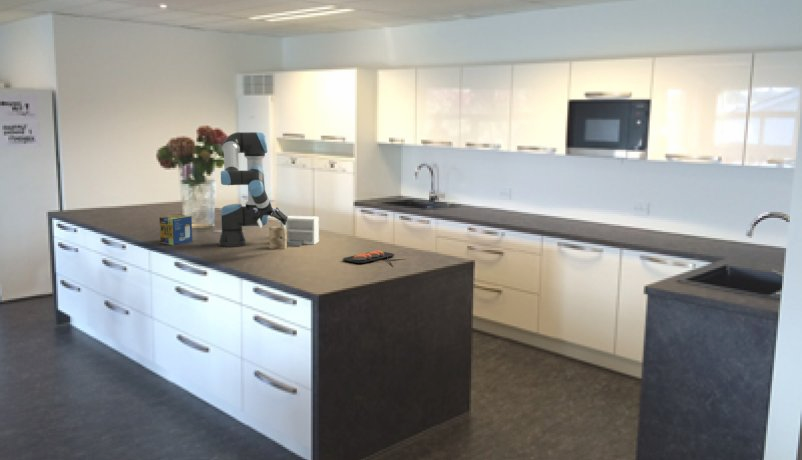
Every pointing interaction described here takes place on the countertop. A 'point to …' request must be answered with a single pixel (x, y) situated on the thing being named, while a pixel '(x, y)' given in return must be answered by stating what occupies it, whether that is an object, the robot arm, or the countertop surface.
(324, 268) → the countertop surface
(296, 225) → the cabinet
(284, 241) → the door
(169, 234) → the protein box
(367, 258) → the sushi plate
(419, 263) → the countertop surface
